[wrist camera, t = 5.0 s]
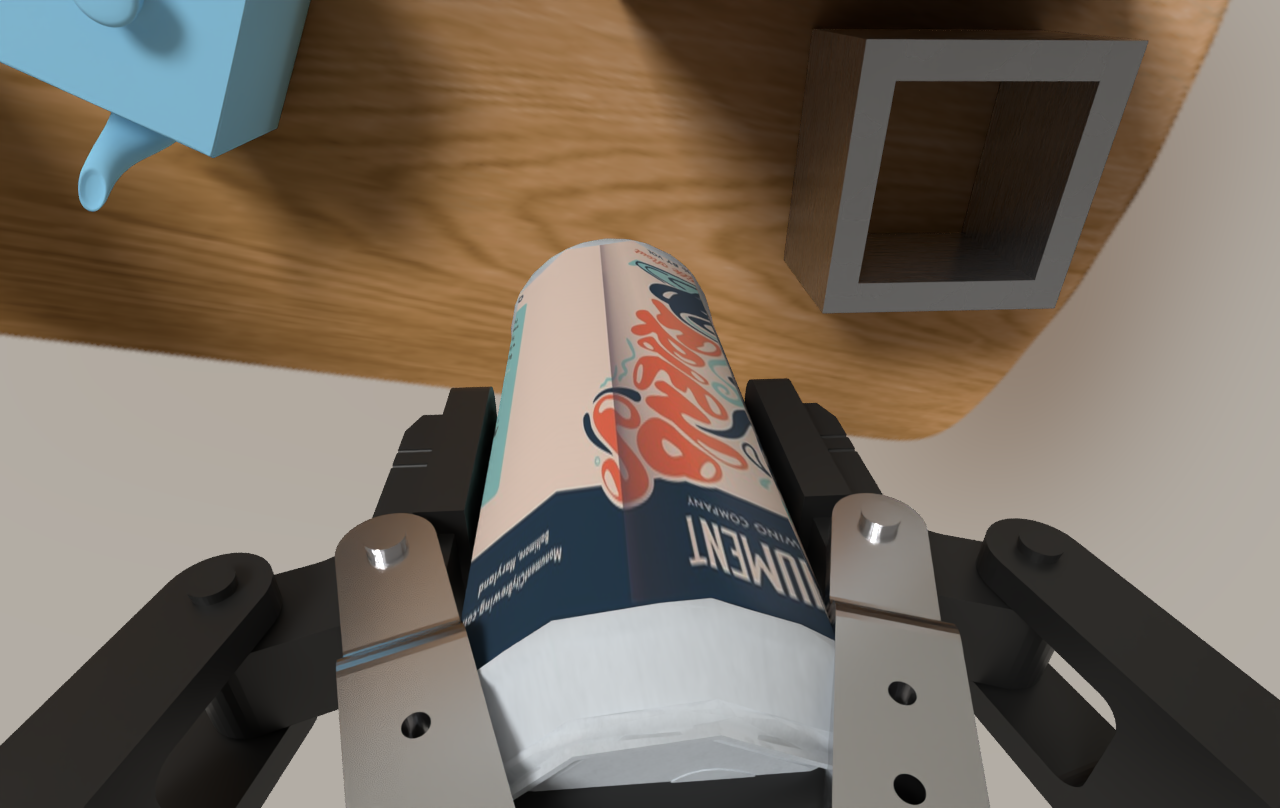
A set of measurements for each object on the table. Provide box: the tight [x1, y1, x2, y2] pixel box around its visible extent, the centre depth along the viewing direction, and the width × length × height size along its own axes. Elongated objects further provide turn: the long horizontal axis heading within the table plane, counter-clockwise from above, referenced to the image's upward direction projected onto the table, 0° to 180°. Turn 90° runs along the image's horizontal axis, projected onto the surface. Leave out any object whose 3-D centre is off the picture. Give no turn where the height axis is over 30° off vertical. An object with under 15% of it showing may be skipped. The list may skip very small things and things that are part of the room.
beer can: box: [461, 239, 835, 800], centre depth 12 cm, size 5×5×12 cm
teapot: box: [0, 0, 311, 212], centre depth 22 cm, size 12×6×8 cm, turn 152°
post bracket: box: [784, 29, 1148, 313], centre depth 27 cm, size 9×9×6 cm
